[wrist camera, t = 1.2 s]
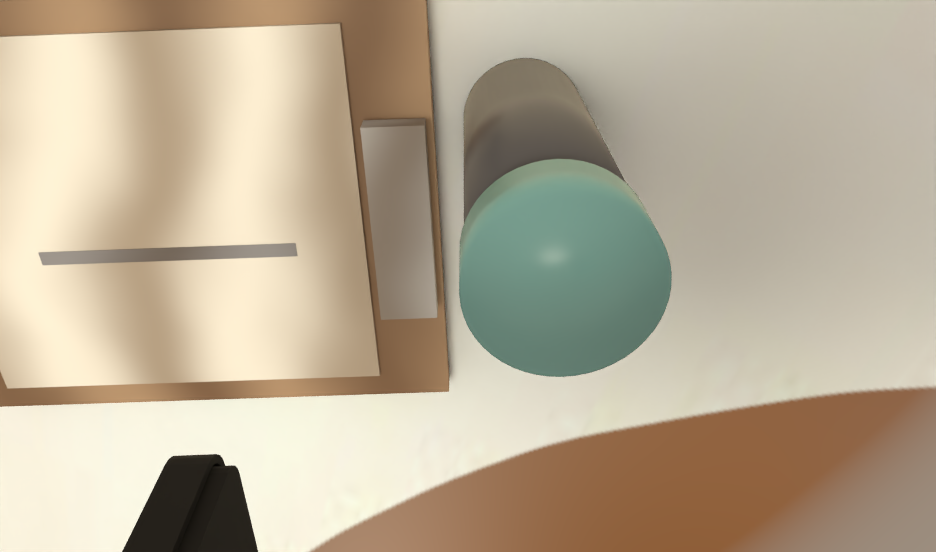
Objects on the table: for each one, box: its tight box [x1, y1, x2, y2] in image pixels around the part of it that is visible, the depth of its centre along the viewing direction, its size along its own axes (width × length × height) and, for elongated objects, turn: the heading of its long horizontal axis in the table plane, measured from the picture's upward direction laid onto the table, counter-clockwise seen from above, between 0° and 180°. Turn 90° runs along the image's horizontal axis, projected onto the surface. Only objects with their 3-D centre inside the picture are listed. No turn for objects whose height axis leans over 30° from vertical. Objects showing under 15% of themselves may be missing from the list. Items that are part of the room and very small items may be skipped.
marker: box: [459, 58, 671, 377], centre depth 20 cm, size 4×4×12 cm
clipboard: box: [0, 0, 449, 407], centre depth 26 cm, size 18×15×2 cm
